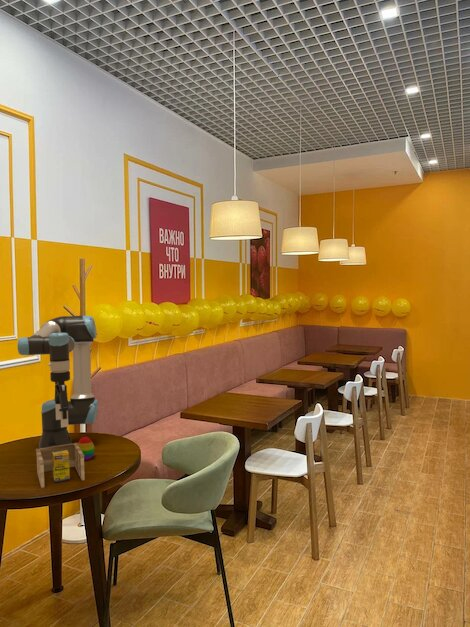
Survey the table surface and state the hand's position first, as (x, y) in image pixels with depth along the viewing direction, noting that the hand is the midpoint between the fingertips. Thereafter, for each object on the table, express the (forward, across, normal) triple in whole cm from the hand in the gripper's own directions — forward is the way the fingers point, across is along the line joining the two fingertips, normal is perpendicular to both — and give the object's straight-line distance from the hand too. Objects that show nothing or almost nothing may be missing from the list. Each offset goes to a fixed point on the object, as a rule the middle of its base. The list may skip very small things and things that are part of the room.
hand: (62, 423), depth 196 cm
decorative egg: (+23, -21, +12) cm, 34 cm away
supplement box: (+23, 0, -1) cm, 23 cm away
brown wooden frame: (+23, -4, -1) cm, 23 cm away
